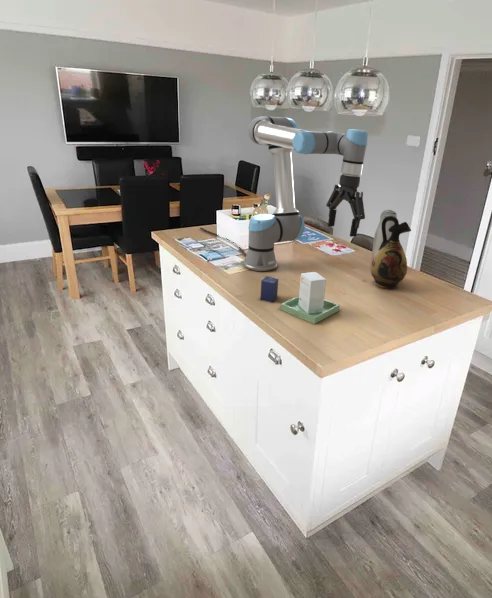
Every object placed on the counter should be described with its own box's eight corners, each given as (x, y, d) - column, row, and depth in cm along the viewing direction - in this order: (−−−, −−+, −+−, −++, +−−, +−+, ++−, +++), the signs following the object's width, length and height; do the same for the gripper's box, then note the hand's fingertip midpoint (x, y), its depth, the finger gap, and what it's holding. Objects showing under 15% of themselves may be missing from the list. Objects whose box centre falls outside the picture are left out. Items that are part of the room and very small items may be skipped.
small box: (323, 312, 153) (326, 279, 147) (307, 314, 150) (311, 281, 145) (312, 303, 159) (315, 271, 154) (297, 305, 156) (300, 273, 151)
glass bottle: (382, 262, 210) (391, 207, 198) (394, 269, 202) (405, 212, 190) (366, 264, 206) (374, 207, 194) (378, 271, 198) (388, 213, 186)
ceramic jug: (407, 283, 186) (420, 217, 174) (398, 294, 174) (411, 224, 161) (371, 274, 193) (381, 210, 181) (359, 285, 181) (370, 216, 168)
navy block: (260, 299, 160) (261, 280, 156) (265, 295, 164) (266, 276, 161) (272, 302, 158) (273, 283, 155) (277, 297, 163) (278, 278, 159)
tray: (280, 309, 153) (280, 303, 152) (306, 297, 165) (306, 292, 164) (314, 324, 145) (315, 318, 144) (339, 310, 156) (339, 305, 155)
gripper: (381, 181, 146) (370, 240, 155) (337, 169, 164) (329, 221, 173) (366, 181, 142) (355, 241, 151) (322, 168, 160) (315, 222, 169)
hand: (341, 231), depth 162 cm, fingers open, 13 cm apart
